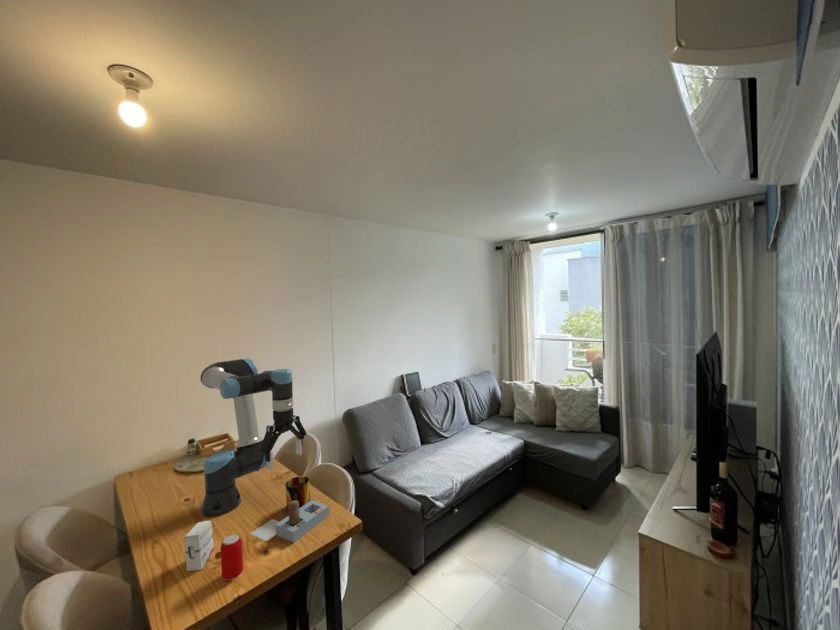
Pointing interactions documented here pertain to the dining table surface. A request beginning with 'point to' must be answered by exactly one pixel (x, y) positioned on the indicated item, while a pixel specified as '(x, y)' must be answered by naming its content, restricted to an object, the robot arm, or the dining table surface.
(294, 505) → the plug
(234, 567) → the beverage can
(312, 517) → the socket block
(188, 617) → the dining table surface
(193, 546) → the ink box
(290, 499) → the mug
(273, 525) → the white flat square
